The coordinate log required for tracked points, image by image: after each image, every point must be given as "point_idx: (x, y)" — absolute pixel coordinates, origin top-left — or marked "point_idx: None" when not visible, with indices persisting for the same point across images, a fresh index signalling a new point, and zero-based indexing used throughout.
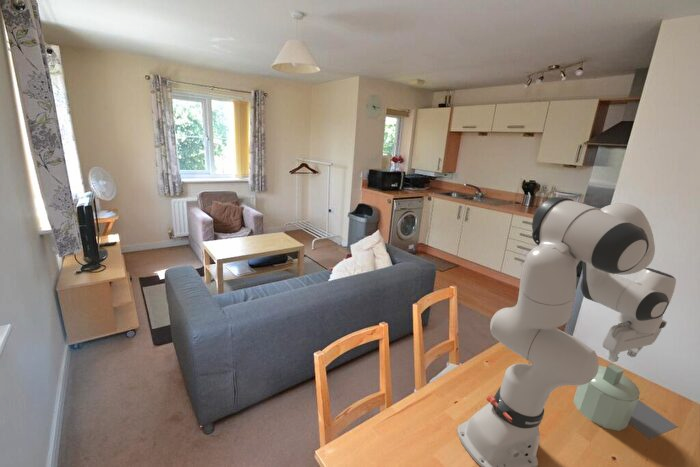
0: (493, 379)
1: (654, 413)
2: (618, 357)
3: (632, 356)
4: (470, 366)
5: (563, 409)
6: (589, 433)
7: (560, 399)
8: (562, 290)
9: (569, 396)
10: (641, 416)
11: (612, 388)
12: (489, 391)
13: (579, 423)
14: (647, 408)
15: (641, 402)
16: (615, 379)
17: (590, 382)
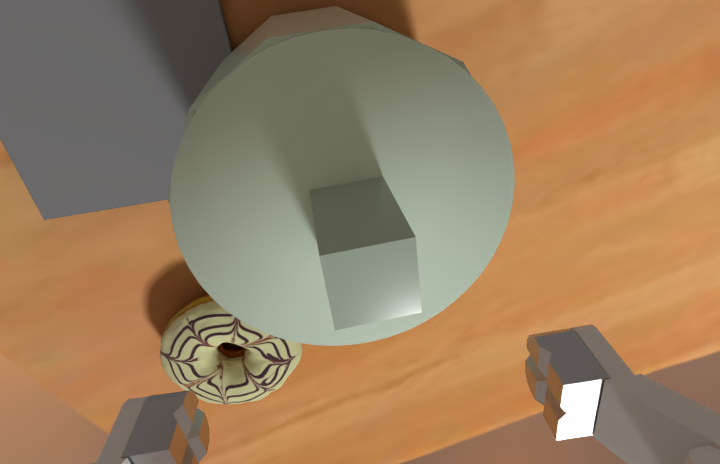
0: (626, 314)
1: None
2: (569, 384)
3: (189, 401)
4: (650, 368)
5: None
6: (495, 25)
7: None
8: None
9: None
10: (103, 65)
11: (415, 151)
12: (698, 267)
13: (487, 83)
14: (9, 107)
15: (11, 147)
16: (388, 201)
17: (508, 219)
